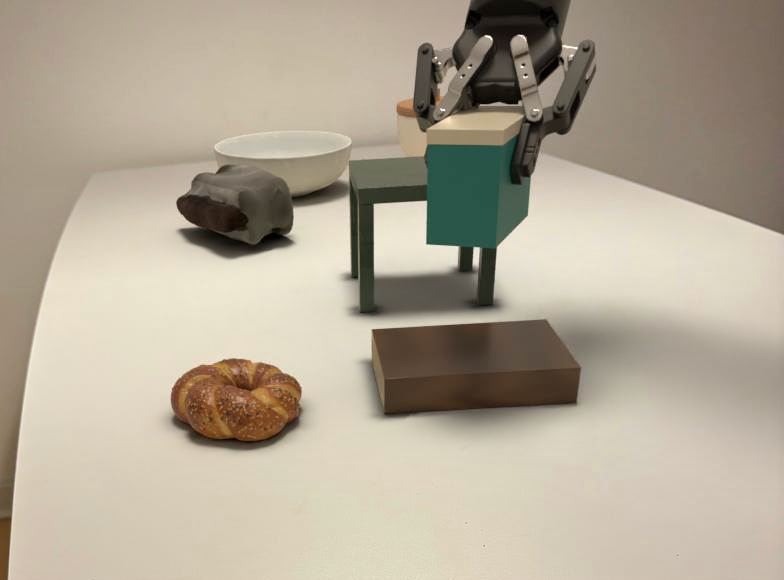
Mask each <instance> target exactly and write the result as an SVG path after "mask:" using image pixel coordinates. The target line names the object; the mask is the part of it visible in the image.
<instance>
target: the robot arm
mask: <svg viewBox="0 0 784 580" xmlns="http://www.w3.org/2000/svg"><path fill="white" fill-rule="evenodd" d="M571 2H572V0H470V1H469V5H468V9H467V12H466V17H465V21H464V27H463V30H462V32H461V34H460V35H459V37H458V38H457V39H456V41H455V42H454V43H453V46H452V47H447V48H441V49H434V46H433V43H430V42H424V43H422V44H421V45H419V47H417V55H416V65H415V78H414V88H413V89H414V91H413V98H414V99H413V110H414V113H415V116H416V119H417V122H418V125H419V128H420V130H421V131H422V132H424V133H426V130H427V129H428V128H430V127H431V126H433V125H435V124H437V123H438V122H440V121H442V120H444V119H445V118H447V117H449V116H451V115H452V114H454V113H456V112H458V111H467V110H470V109H474V108H478V107H479V106H481V105H492V104H497V103H500V104H505V105H507V106H519V103H520V102H521V106H522V107H523V109H524V111H525V114H526V122H525V123H522V124H521V128H520V132H519V134H518V138H517V142H516V146H515V150H514V154H513V158H512V162H511V166H510V174H511V179H512V184H513V185H523V182H524V178H525V177H531V178H532V175H533V174H534V172H535V170H536V165H537V162H538V158H539V154H540V149H541V146H542V143H543V140H544V139H545V138H546V137H547V136H549V135H552V134H555V133H556V134H557V135H559V136H564V135H567V134H568V133H569V132H570V131H571V130H572V128H573V125H574V124H575V120H576V118H577V116H578V114H579V111H580V109H581V107H582V105H583V102H584V100H585V97H586V95H587V93H588V90H589V88H590V86H591V84H592V82H593V79H594V77H595V74H596V72H597V55H596V45H595V41H593V40H592V39H584V40H582V41H581V42H579V44H578V45H577V46H572V45H565V44H563V40H562V38H563V34H564V30H565V25H566V23H567V18H568V14H569V10H570V6H571ZM561 66H562V70H563V80H562V82H561V85H560V87H559V89H558V92H557V94H556V97H555V99H554V101H553V103H552V105H550V106H546V107H543V105H542V101H541V98H540V93H539V87H540V86H541V85H542V84H543V83H544V82H545V81H546V80H547V79H548V78H549V77H550V76H551V75H553V73H555V71H557V70H558V69H559V67H561ZM452 67H455V69H456V73H455V74H454V76H453V78H452V79H451V80H450V82H449V84H448V86H447V91H446V94H445V95H443V96H444V98H443V99H442V100H441V102H440V103H439V104H438V106H437V107H436V100H437V88H439V85H441V84H443V83H444V79H445V78H446V76H447V73H448V71H449V69H451V68H452ZM424 159H425V164H426V167H427V170H428V144H427V147H426V151H425V155H424Z"/></svg>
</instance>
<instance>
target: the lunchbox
mask: <svg viewBox="0 0 784 580" xmlns="http://www.w3.org/2000/svg"><path fill="white" fill-rule="evenodd" d="M525 122H526V114H525V111H524V109H523V107H522V105H480V106H479V107H478V108H474V109H470V110H467V111H458V112H456V113H454V114H452V115H451V116H449V117H447V118H445V119H444V120H442V121H440V122H438V123H437V124H435V125H433V126H431V127H430V128H428V129H427V130H426V144H428V170H427V201H426V228H425V230H426V231H425V233H426V234H425V236H426V237H425V242H426V243H425V245H428V246H429V245H431V246H444V247H445V246H446V247H459V246H461V247H474V248H478V249H480V248H496V247H497V248H498V247H499V246H500V244H502V243H503V242H504V241H505V240H506V238H507V237H508V236H510V234H511V233H513V231H514V230H516V228H517V227H518V226H519V225H520V224H522V222H523V221H524V220H525V219H526V218H527V217H529V207H530V196H531V195H530V194H531V182H532V176H531V177H525V178H524V182H523V185H513V184H512V179H511V174H510V166H511V162H512V158H513V154H514V150H515V146H516V142H517V138H518V134H519V132H520V128H521V124H522V123H525Z"/></svg>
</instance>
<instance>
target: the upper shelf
mask: <svg viewBox="0 0 784 580" xmlns="http://www.w3.org/2000/svg"><path fill="white" fill-rule="evenodd" d="M348 193H349V194H348V197H349V200H348V202H349V255H350V260H349V261H350V276H351V278H358V310H359V312H360V313H367V312H374V311H375V205H378V204H379V205H380V204H396V203H414V202H415V203H416V202H427V167H426V164H425V159H424V156H419V157H406V156H405V157H404V156H403V157H402V156H401V157H386V158H385V157H384V158H369V159H353V160H351V159H349V162H348ZM457 248H458V250H457V269H458V271H459V272H466V271H473V266H474V250H475V249H474V248H475V247H461V246H458V247H457ZM497 252H498V246H497V247H496V248H479V252H478V270H477V285H476V286H477V287H476V302H477V303H476V304H477V305H478V306H491V305H494V293H495V281H496V269H497V268H496V266H497V255H498V253H497Z"/></svg>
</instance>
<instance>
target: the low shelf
mask: <svg viewBox="0 0 784 580" xmlns="http://www.w3.org/2000/svg"><path fill="white" fill-rule="evenodd" d="M371 364H372V368H373V373H374V377H375V380H376V385H377V388H378V394H379V397H380V401H381V406H382V410H383V413H384V414H399V413H400V414H401V413H418V412H420V413H421V412H434V411H436V412H437V411H452V410H453V411H454V410H470V409H471V410H472V409H488V408H504V407H507V408H508V407H521V406H522V407H523V406H525V407H526V406H541V405H542V406H543V405H556V404H557V405H558V404H559V405H560V404H576V403H577V401H578V394H579V387H580V380H581V372H582V367H581V365H580V364H579V363H578V361H577V360H576V358H575V357H574V355H573V354H572V353H571V351H570V350H569V349H568V347H567V346H566V345H565V343H564V342H563V341H562V339H561V337H560V336H559V335H558V334H557V332H556V330H555V329H554V328H553V325H552V324H551V323H550V322H549V321H548V319H547V318H545V319H544V318H543V319H542V318H541V319H527V320H525V319H523V320H508V321H507V320H506V321H494V322H493V321H491V322H473V323H456V324H440V325H436V324H435V325H419V326H405V327H404V326H403V327H388V328H387V327H386V328H385V327H383V328H372V329H371Z"/></svg>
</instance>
